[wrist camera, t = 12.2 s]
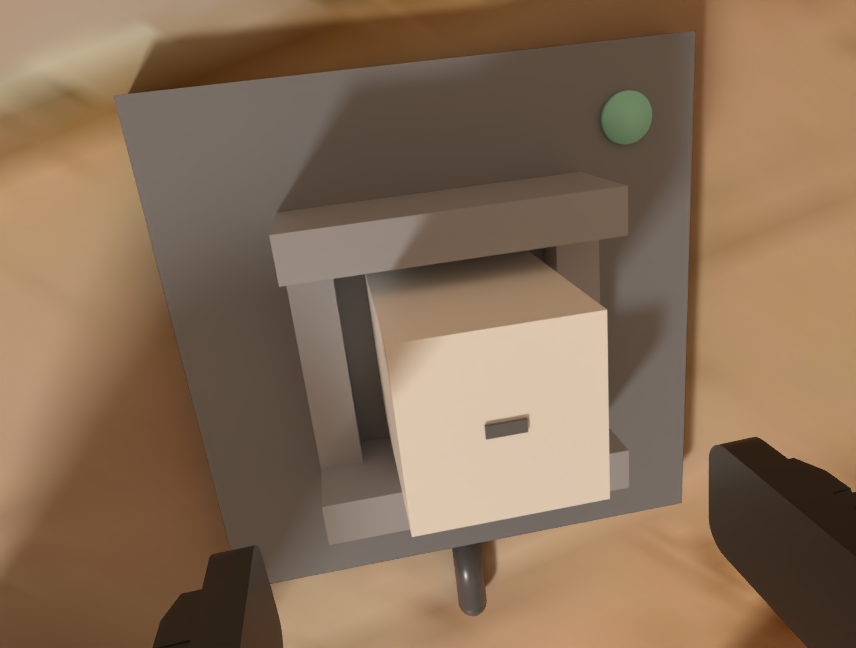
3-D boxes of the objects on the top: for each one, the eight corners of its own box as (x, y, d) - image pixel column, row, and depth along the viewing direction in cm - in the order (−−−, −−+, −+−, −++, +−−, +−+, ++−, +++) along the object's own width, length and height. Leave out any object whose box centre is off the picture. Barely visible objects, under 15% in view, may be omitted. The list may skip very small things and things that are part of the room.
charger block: (520, 245, 19) (609, 310, 13) (529, 387, 20) (611, 500, 15) (363, 268, 18) (385, 346, 13) (385, 412, 20) (412, 539, 14)
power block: (663, 562, 25) (727, 648, 21) (264, 644, 23) (253, 755, 20) (672, 34, 19) (766, 19, 15) (126, 95, 17) (70, 95, 13)
